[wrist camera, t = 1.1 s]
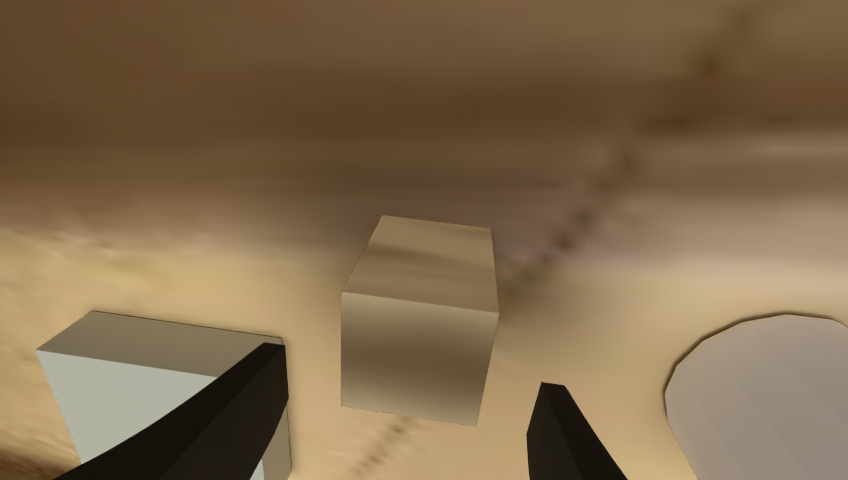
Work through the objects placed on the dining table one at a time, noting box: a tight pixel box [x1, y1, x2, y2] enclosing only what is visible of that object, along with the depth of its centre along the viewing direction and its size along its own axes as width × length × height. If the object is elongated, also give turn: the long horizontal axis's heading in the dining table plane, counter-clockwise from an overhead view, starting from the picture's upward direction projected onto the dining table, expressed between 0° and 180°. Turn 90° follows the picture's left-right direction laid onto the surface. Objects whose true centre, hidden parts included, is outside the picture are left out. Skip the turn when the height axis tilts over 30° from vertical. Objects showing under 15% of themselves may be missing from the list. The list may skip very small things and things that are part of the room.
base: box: [36, 311, 291, 480], centre depth 22 cm, size 10×10×3 cm
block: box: [341, 215, 499, 427], centre depth 15 cm, size 4×4×6 cm
